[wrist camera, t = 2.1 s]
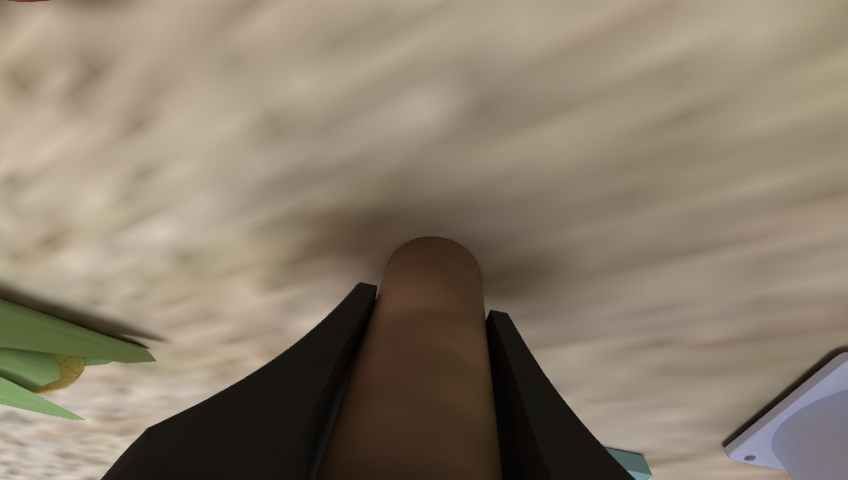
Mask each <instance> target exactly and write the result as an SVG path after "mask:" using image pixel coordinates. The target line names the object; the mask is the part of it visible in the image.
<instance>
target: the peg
mask: <svg viewBox="0 0 848 480" xmlns="http://www.w3.org/2000/svg"><path fill="white" fill-rule="evenodd" d="M315 480H503V478H502V469H501V460H500V450H499V441H498V431H497V422H496V412H495V403H494V394H493V384H492V375H491V365H490V356H489V346H488V337H487V328H486V318H485V309H484V299H483V290H482V280H481V272H480V268H479V265H478V263H477V261H476V259H475V258H474V257H473V255H472V254H471V253H470V252H469V251H468V250H467V249H466V248H464V247H463V246H461V245H460V244H458V243H456V242H454V241H451V240H448V239H444V238H439V237H423V238H418V239H415V240H412V241H409V242H407V243H405V244H404V245H402V246H401V247H399V248H398V249H397V250H396V251H395V252H394V253H393V255H392V256H391V258H390V260H389V262H388V264H387V267H386V270H385V273H384V276H383V279H382V282H381V285H380V288H379V291H378V294H377V297H376V300H375V303H374V306H373V309H372V312H371V315H370V318H369V321H368V324H367V326H366V329H365V332H364V335H363V338H362V341H361V344H360V347H359V350H358V353H357V356H356V359H355V362H354V365H353V368H352V371H351V374H350V376H349V379H348V382H347V385H346V388H345V391H344V394H343V397H342V400H341V403H340V406H339V409H338V412H337V415H336V418H335V421H334V424H333V427H332V430H331V433H330V435H329V438H328V441H327V444H326V447H325V450H324V453H323V456H322V459H321V462H320V465H319V468H318V471H317V474H316V477H315Z"/></svg>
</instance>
